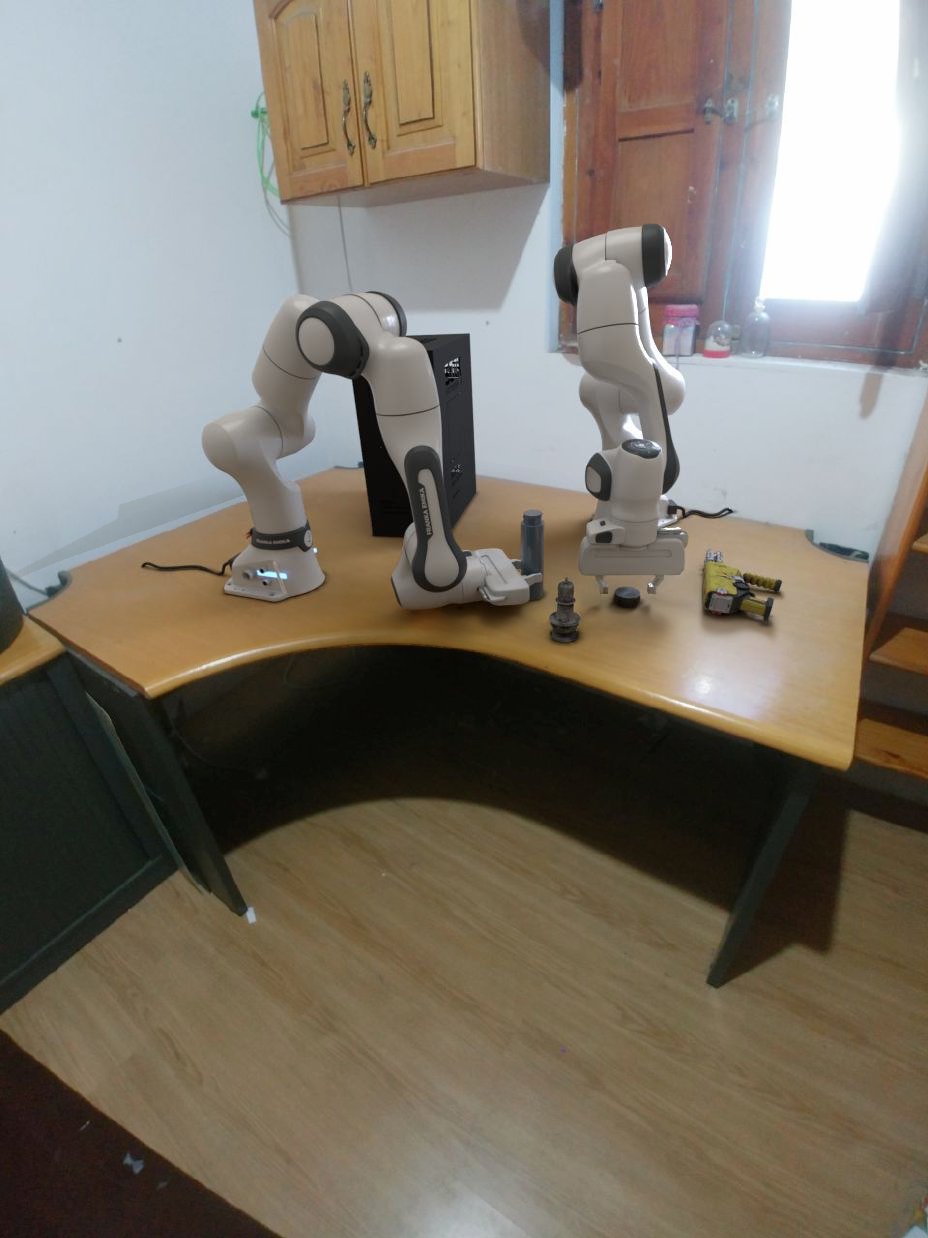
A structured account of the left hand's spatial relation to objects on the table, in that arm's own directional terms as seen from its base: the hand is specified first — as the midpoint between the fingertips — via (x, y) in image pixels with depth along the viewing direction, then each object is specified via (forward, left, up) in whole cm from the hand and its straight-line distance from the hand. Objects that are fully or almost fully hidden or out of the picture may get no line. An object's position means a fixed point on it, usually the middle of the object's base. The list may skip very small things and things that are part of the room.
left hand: (536, 570), depth 125 cm
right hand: (+19, -2, -3) cm, 19 cm away
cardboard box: (-36, +47, -6) cm, 59 cm away
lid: (+19, -2, -4) cm, 19 cm away
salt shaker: (+7, -16, -6) cm, 18 cm away
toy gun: (+41, +4, -6) cm, 42 cm away
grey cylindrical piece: (-1, 0, -6) cm, 6 cm away
